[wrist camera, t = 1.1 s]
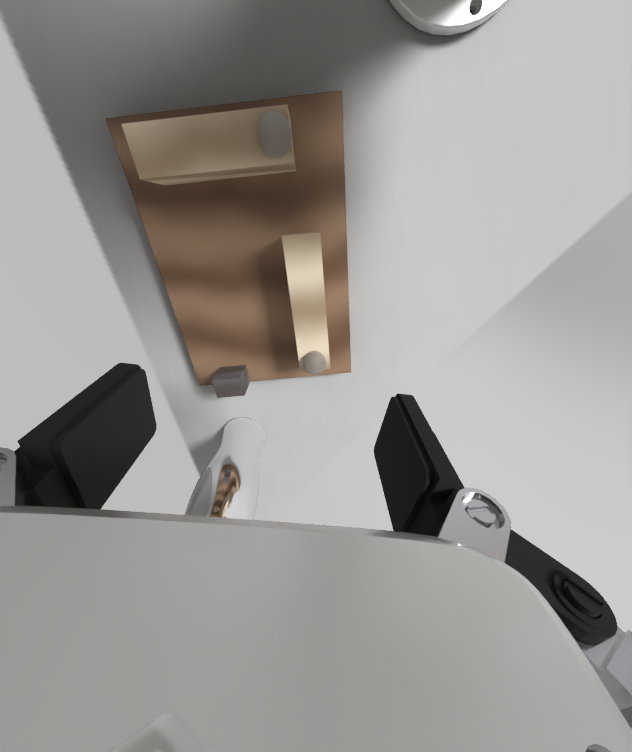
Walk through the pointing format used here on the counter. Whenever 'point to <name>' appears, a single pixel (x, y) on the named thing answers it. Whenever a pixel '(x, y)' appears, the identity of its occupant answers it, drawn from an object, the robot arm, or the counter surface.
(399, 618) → the robot arm
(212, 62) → the counter surface
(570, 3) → the counter surface
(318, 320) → the hinged leg
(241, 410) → the counter surface
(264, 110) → the stool frame
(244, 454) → the beer glass
